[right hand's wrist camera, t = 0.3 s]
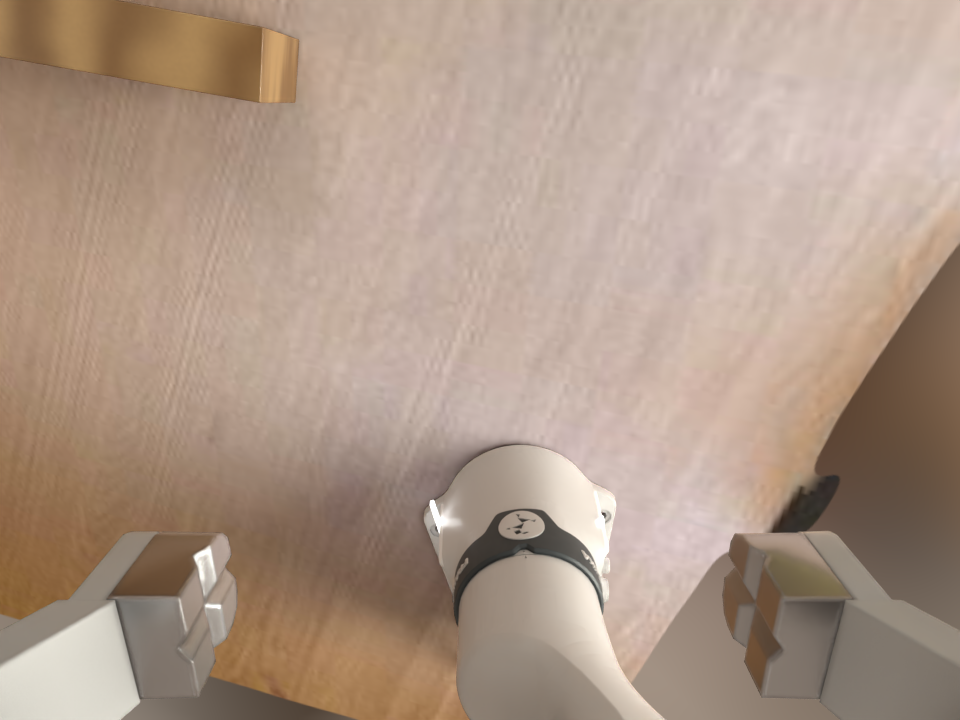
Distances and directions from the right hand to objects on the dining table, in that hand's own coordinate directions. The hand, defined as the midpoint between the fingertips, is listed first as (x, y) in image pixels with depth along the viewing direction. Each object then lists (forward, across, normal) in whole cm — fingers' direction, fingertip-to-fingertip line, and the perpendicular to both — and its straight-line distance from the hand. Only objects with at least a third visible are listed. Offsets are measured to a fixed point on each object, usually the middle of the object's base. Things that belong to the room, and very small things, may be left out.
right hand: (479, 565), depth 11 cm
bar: (+46, -27, +12) cm, 54 cm away
